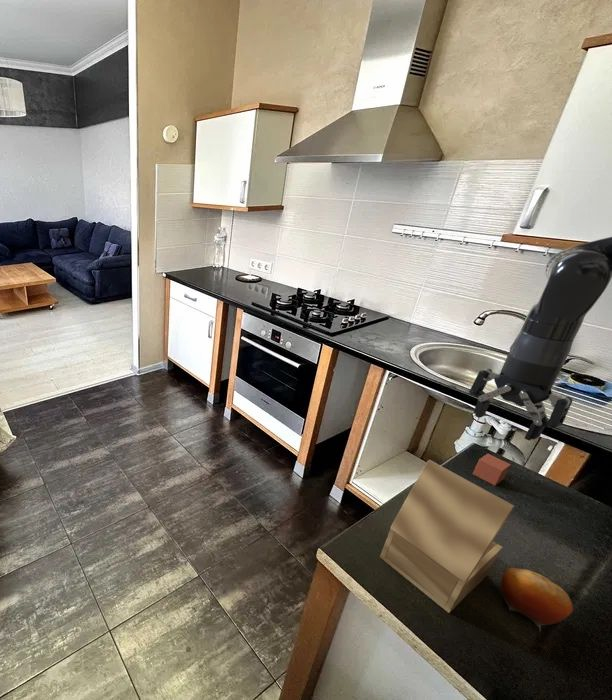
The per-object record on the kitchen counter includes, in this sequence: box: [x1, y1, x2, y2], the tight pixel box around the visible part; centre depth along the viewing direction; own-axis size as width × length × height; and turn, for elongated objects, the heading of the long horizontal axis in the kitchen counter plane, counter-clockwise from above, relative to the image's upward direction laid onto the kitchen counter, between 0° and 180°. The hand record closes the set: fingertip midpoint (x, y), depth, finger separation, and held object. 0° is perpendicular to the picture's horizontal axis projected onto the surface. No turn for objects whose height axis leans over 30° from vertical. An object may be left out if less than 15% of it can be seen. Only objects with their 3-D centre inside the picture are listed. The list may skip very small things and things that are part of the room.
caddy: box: [379, 528, 504, 614], centre depth 68 cm, size 14×12×7 cm
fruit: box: [500, 567, 574, 633], centre depth 61 cm, size 8×8×8 cm
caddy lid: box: [390, 459, 516, 583], centre depth 61 cm, size 14×12×1 cm
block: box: [472, 453, 512, 486], centre depth 90 cm, size 4×4×4 cm
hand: (502, 427), depth 77 cm, fingers open, 8 cm apart
